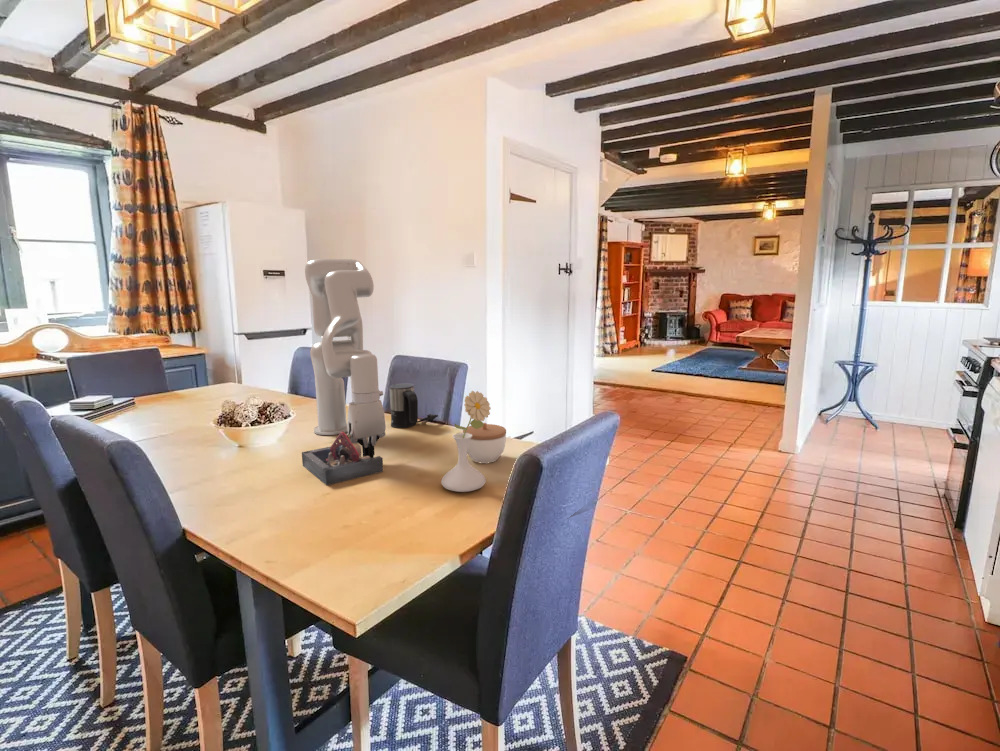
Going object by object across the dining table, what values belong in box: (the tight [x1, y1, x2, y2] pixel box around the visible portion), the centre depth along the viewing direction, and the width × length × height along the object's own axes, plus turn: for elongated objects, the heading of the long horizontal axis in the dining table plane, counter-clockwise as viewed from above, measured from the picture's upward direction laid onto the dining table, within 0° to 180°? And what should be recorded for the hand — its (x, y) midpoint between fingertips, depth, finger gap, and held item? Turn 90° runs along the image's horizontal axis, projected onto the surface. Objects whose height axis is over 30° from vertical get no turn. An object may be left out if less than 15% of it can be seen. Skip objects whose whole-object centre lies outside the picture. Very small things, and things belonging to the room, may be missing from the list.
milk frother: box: [388, 382, 439, 429], centre depth 196 cm, size 14×16×15 cm
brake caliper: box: [326, 432, 370, 467], centre depth 152 cm, size 11×11×12 cm
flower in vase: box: [440, 390, 491, 493], centre depth 136 cm, size 13×11×25 cm
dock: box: [301, 446, 384, 486], centre depth 152 cm, size 19×16×4 cm
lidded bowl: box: [462, 422, 507, 464], centre depth 158 cm, size 13×13×11 cm
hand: (368, 458), depth 157 cm, fingers closed
